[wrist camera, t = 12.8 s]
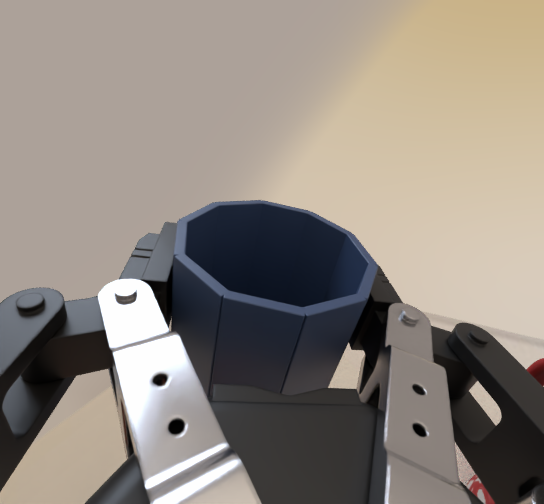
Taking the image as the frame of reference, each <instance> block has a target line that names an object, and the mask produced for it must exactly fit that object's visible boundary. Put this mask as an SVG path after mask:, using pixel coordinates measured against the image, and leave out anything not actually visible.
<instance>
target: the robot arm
mask: <svg viewBox="0 0 544 504" xmlns="http://www.w3.org/2000/svg"><path fill="white" fill-rule="evenodd" d="M176 229H177V223H170V222H165V223H164V226H163V228H162V231H161V233H160V234H152V233H148V234H147V235H145V236H144V237H142V238H141V239H140V240H139V241H138V243H137V245H136V247H135V250H134V251H133V253H132V255H131V257H130V259H129V260H128V262H127V264H126V266H125V268H124V270H123V272H122V274H121V276H120V278H119V280H116V281H113V282H111V283H109V284H107V285H106V286H105V287H103V288H102V289H101V291H100V292H99V295H98V296H96V297H92V298H87V299H79V300H72V301H64V297H63V295H62V294H61V293H60V292H58V291H57V290H54V289H50V288H32V289H27V290H23V291H20V292H17V293H15V294H13V295H11V296H9V297H7V298H6V299H5V300H3V301H2V302H1V303H0V491H1V490H2V488H3V487H4V485H5V484H6V482H7V481H8V479H9V478H10V476H11V475H12V473H13V472H14V470H15V468H16V467H17V465H18V464H19V462H20V461H21V459H22V458H23V456H24V455H25V453H26V452H27V450H28V449H29V447H30V446H31V444H32V442H33V441H34V439H35V438H36V436H37V435H38V433H39V432H40V430H41V429H42V427H43V426H44V424H45V423H46V421H47V420H48V418H49V416H50V415H51V413H52V412H53V410H54V409H55V407H56V406H57V404H58V403H59V401H60V400H61V398H62V397H63V395H64V394H65V392H66V391H67V389H68V387H69V386H70V384H71V383H72V381H73V380H74V378H75V377H76V376H77V375H82V374H86V373H91V372H95V371H100V370H104V369H108V370H109V374H110V379H111V384H112V388H113V393H114V397H115V402H116V407H117V411H118V416H119V421H120V427H121V433H122V438H123V443H124V448H125V453H126V458H127V460H126V461H125V462H124V463H123V464H122V466H121V467H120V468H119V469H118V470H117V471H116V472H115V473H114V474H113V475H112V476H111V477H110V478H109V479H108V480H107V481H106V482H105V483H104V484H103V485H102V486H101V487H100V488H99V489H98V490H97V491H96V492H95V493H94V494H93V495H92V496H91V497H90V498H89V499H88V501H87V502H86V503H85V504H484V503H483V502H482V501H481V500H480V499H479V498H478V497H477V496H476V495H474V494H473V493H472V492H471V491H470V490H469V489H468V488H467V487H466V486H465V485H464V484H463V483H462V482H461V481H459V476H458V467H457V459H456V451H455V442H456V444H457V445H458V447H459V449H460V450H461V452H462V453H463V455H464V456H465V458H466V459H467V461H468V462H469V464H470V466H471V467H472V469H473V470H474V472H475V473H476V475H477V476H478V478H479V479H480V481H481V483H482V484H483V486H484V487H485V489H486V490H487V492H488V493H489V495H490V496H491V498H492V500H493V501H494V503H495V504H544V387H543V386H542V385H541V384H540V383H539V382H538V381H537V380H536V379H535V378H534V377H533V376H532V375H531V374H530V373H529V372H528V371H527V370H526V369H525V368H524V367H523V366H522V365H521V364H520V363H519V362H518V361H517V360H516V359H515V358H514V357H513V356H512V355H511V354H510V353H509V352H508V351H507V350H506V349H505V348H504V347H503V346H502V345H501V344H500V343H499V342H498V341H497V340H496V339H495V338H494V337H493V336H492V335H490V334H489V333H488V332H486V331H485V330H483V329H482V328H480V327H478V326H475V325H473V324H469V323H459V324H457V325H456V326H455V328H454V329H453V331H452V332H449V331H446V330H443V329H440V328H436V327H433V326H431V324H430V321H429V319H428V318H427V317H426V315H425V314H423V313H422V312H421V311H420V310H418V309H417V308H415V307H413V306H410V305H408V304H404V303H403V302H402V301H401V299H400V298H399V296H398V295H397V293H396V291H395V290H394V288H393V287H392V285H391V284H390V283H389V280H388V279H387V277H386V276H385V274H384V272H383V271H382V269H381V268H380V266H378V269H377V272H376V275H375V279H374V282H373V285H372V288H371V291H370V294H369V298H368V300H367V303H366V305H365V307H364V309H363V311H362V314H361V316H360V318H359V320H358V322H357V324H356V327H355V329H354V331H353V333H352V335H351V338H350V340H349V344H350V347H351V349H352V350H364V352H365V355H364V357H363V359H362V362H361V367H360V372H359V378H358V383H357V389H339V388H321V389H317V390H313V391H308V392H304V393H300V394H295V395H284V394H281V393H277V392H273V391H270V390H266V389H263V388H259V387H255V386H252V385H232V384H213V391H212V396H209V397H207V396H206V394H205V392H204V390H203V387H202V385H201V383H200V381H199V379H198V376H197V374H196V372H195V370H194V367H193V365H192V363H191V361H190V359H189V356H188V354H187V352H186V350H185V347H184V345H183V343H182V341H181V339H180V337H179V335H178V333H177V332H176V331H171V332H170V331H169V329H168V328H169V324H170V320H171V317H172V286H173V254H174V246H175V237H176ZM477 380H478V381H479V383H480V384H481V385H482V386H483V387H484V389H485V390H486V391H487V392H488V393H489V395H490V396H491V397H492V398H493V399H494V401H495V402H496V403H497V404H498V406H499V408H500V410H501V415H502V418H501V421H500V423H499V424H498V425H497V426H495V424H494V423H493V422H492V420H491V419H490V418H489V417H488V415H487V414H486V413H485V411H484V410H483V409H482V408H481V406H480V405H479V404H478V402H477V401H476V400H475V399H474V397H473V396H472V395H471V393H470V392H469V390H470V389H471V387H472V386H473V385H474V384H475V383H476V382H477ZM454 441H455V442H454Z"/></svg>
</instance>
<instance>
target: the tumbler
mask: <svg viewBox="0 0 544 504" xmlns="http://www.w3.org/2000/svg"><path fill="white" fill-rule="evenodd" d="M377 269H378V265H377V264H376V262H375V261H374V259H373V258H372V257H371V256H370V254H369V253H368V252H367V251H366V249H365V248H364V247H363V246H362V244H361V243H360V242H359V240H358V239H357V238H356V237H355V235H354V234H352V233H351V232H349V231H347V230H345V229H343V228H341V227H340V226H338V225H336V224H334V223H332V222H330V221H328V220H326V219H324V218H323V217H321V216H319V215H317V214H315V213H313V212H310V211H308V210H303V209H299V208H294V207H290V206H285V205H281V204H277V203H272V202H268V201H261V200H254V201H253V200H252V201H230V202H215V203H211V204H209V205H207V206H205V207H203V208H201V209H199V210H197V211H195V212H193V213H191V214H189V215H187V216H185V217H183V218H181V219H179V221H178V222H177V229H176V237H175V246H174V254H173V286H172V325H171V331H176V332H177V333H178V335H179V337H180V339H181V341H182V343H183V345H184V347H185V350H186V352H187V354H188V356H189V359H190V361H191V363H192V365H193V367H194V370H195V372H196V374H197V376H198V379H199V381H200V383H201V385H202V387H203V390H204V392H205V394H206V396H207V397H209V396H212V391H213V384H232V385H252V386H255V387H259V388H263V389H266V390H270V391H273V392H277V393H281V394H284V395H295V394H300V393H304V392H308V391H313V390H317V389H321V388H328V386H329V384H330V381H331V379H332V377H333V375H334V373H335V370H336V368H337V366H338V364H339V362H340V360H341V357H342V355H343V353H344V351H345V349H346V346H347V344H348V342H349V340H350V338H351V335H352V333H353V331H354V329H355V327H356V324H357V322H358V320H359V318H360V316H361V314H362V311H363V309H364V307H365V305H366V303H367V300H368V298H369V294H370V291H371V288H372V285H373V282H374V279H375V275H376V272H377Z"/></svg>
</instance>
